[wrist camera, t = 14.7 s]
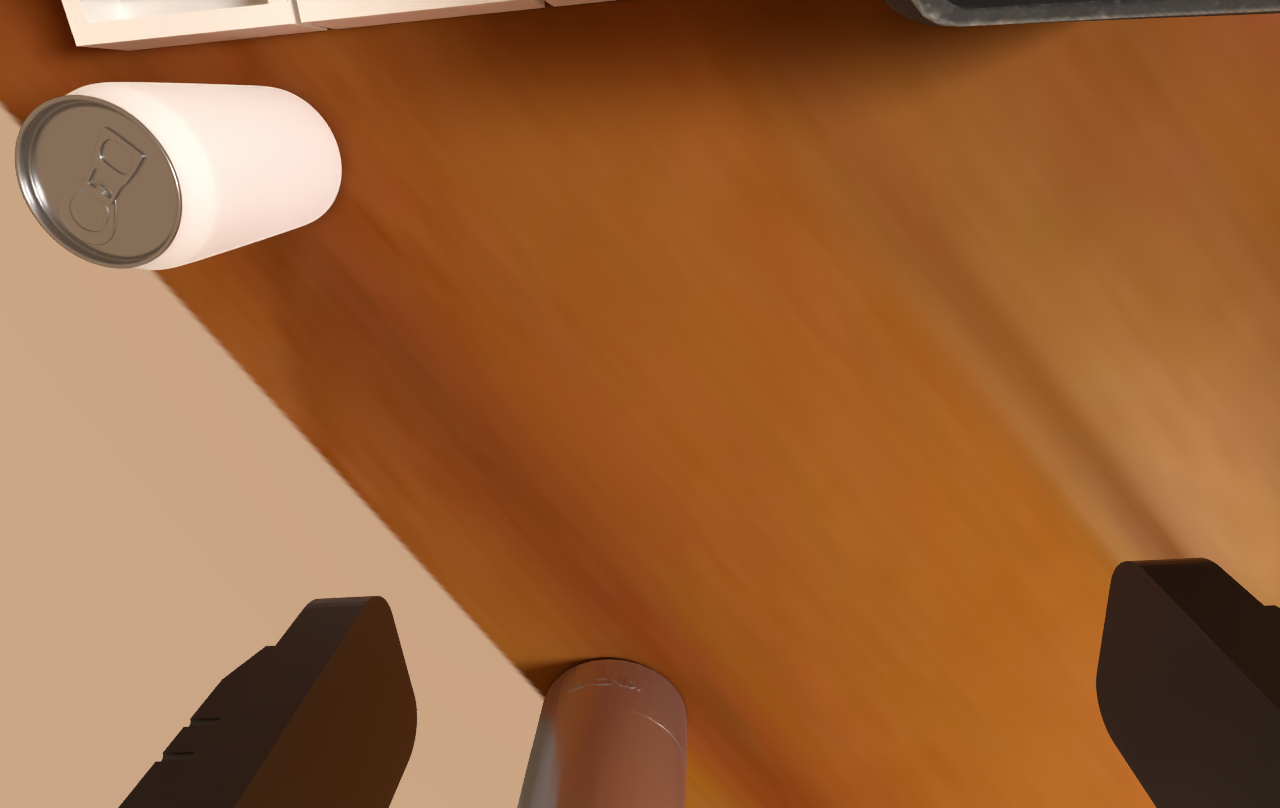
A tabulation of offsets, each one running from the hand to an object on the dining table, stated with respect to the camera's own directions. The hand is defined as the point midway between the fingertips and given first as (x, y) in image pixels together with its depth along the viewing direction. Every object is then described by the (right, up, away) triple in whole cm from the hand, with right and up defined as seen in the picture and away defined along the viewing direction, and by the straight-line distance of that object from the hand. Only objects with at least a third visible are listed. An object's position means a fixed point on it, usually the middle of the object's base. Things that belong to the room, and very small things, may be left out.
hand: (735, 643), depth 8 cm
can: (-18, +15, +28) cm, 36 cm away
